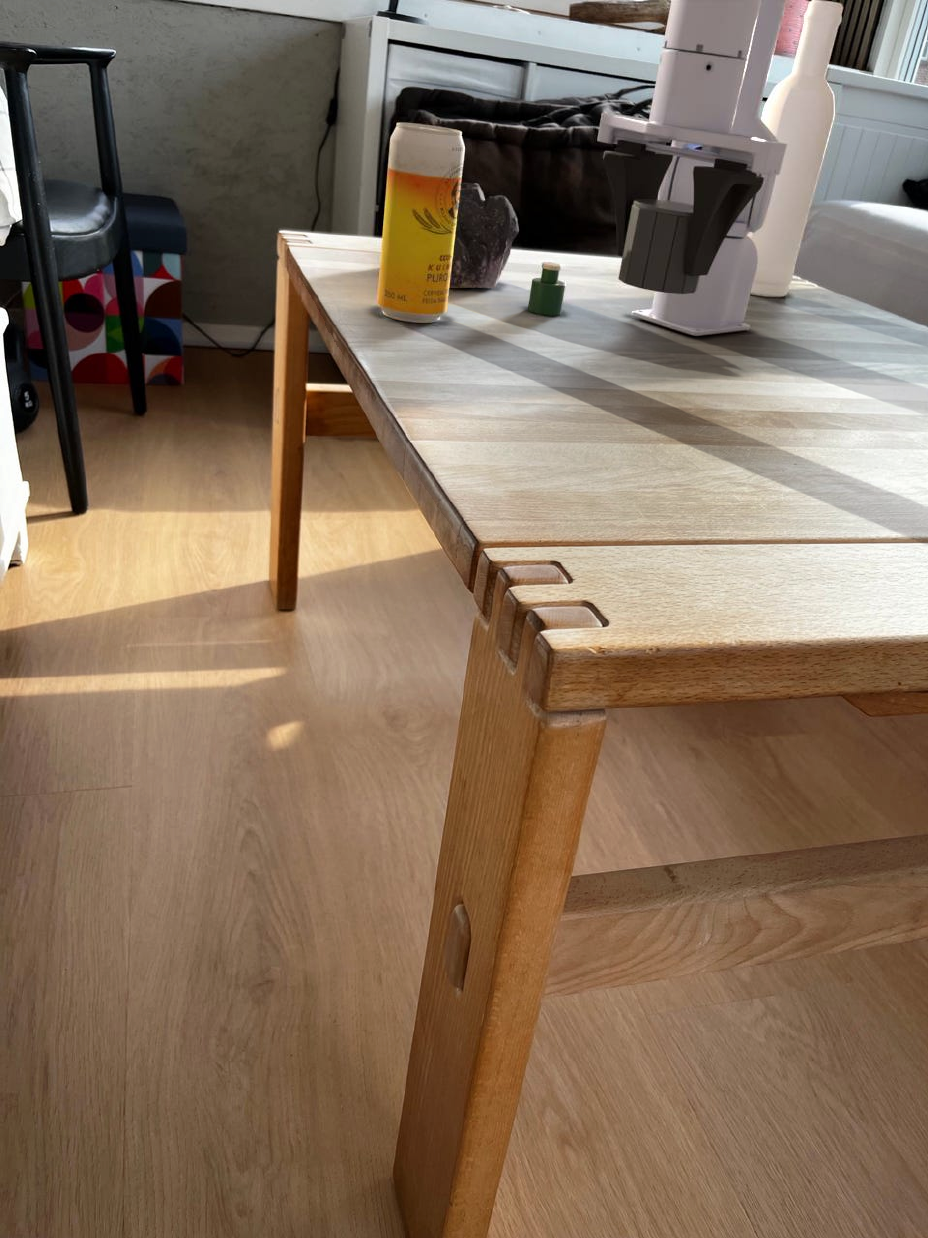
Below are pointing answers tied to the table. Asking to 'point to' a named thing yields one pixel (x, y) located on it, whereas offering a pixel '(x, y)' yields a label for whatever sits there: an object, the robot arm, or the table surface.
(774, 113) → the bottle
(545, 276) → the bottle
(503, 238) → the crystal cluster
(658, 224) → the dark grey grooved cylinder
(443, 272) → the beer can
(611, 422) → the table surface
